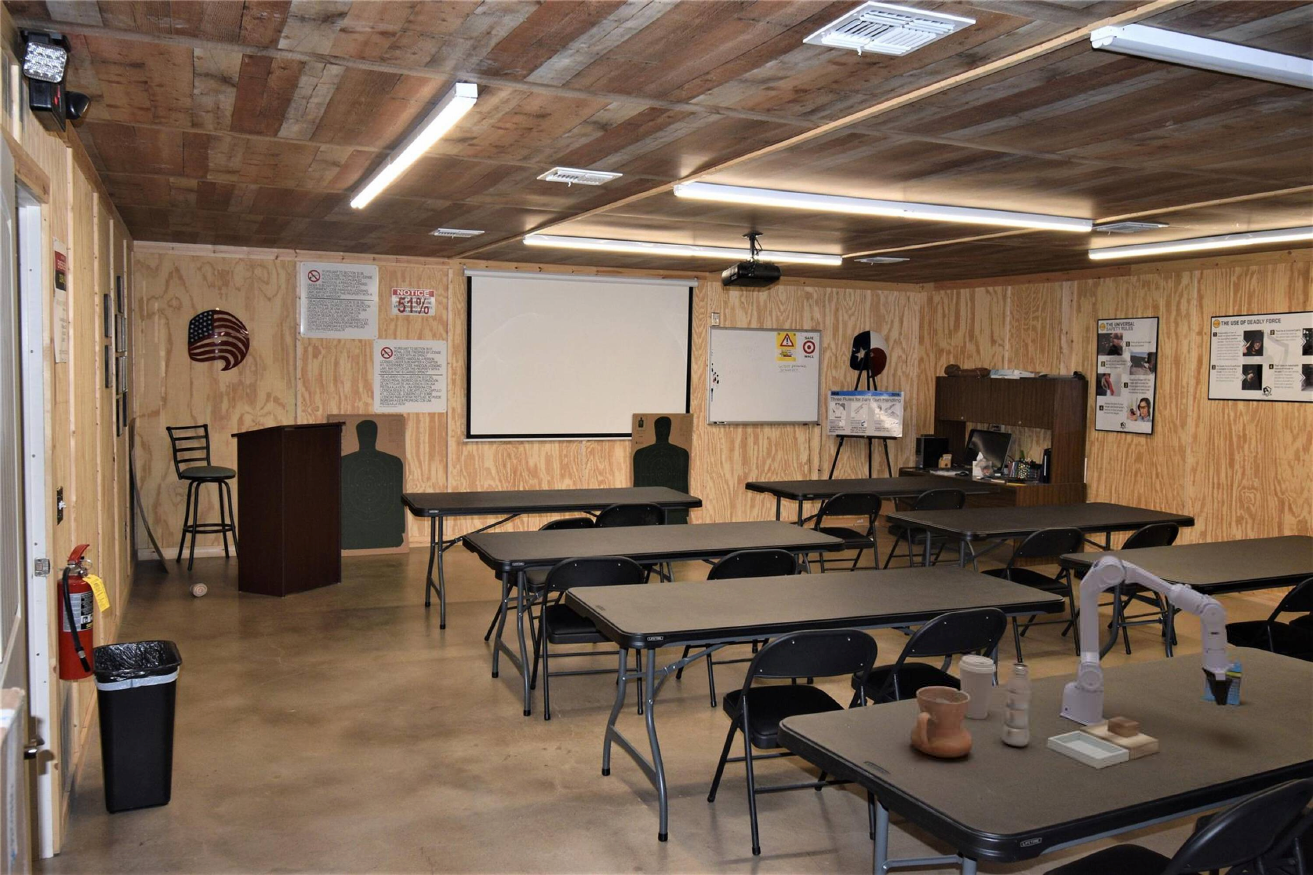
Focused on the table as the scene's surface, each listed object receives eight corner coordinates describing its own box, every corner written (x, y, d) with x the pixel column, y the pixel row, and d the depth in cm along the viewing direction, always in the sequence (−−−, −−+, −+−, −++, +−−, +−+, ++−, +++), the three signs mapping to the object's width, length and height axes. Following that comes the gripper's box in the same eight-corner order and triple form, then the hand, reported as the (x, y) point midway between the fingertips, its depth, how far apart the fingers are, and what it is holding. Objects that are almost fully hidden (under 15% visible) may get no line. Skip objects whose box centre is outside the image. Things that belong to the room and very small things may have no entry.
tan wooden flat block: (1079, 739, 250) (1080, 727, 249) (1106, 732, 255) (1107, 720, 255) (1130, 759, 238) (1131, 747, 237) (1157, 751, 243) (1158, 739, 243)
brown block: (1107, 730, 248) (1108, 719, 248) (1119, 727, 250) (1120, 716, 250) (1125, 737, 244) (1126, 726, 243) (1138, 734, 246) (1138, 722, 246)
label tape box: (1239, 702, 283) (1243, 660, 282) (1239, 706, 280) (1242, 663, 279) (1204, 695, 288) (1208, 654, 287) (1203, 699, 284) (1207, 657, 283)
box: (1047, 747, 243) (1047, 737, 243) (1077, 739, 249) (1078, 730, 249) (1097, 768, 231) (1098, 758, 231) (1128, 760, 237) (1129, 750, 237)
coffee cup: (953, 717, 262) (957, 661, 261) (957, 706, 271) (960, 652, 270) (991, 723, 258) (995, 667, 257) (994, 711, 267) (997, 657, 266)
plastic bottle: (1028, 741, 247) (1033, 663, 245) (1029, 751, 240) (1034, 670, 239) (1000, 737, 249) (1006, 659, 247) (1000, 746, 243) (1006, 667, 241)
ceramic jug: (936, 733, 250) (938, 678, 248) (987, 752, 238) (989, 694, 237) (891, 751, 238) (893, 693, 237) (942, 771, 227) (945, 711, 226)
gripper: (1237, 654, 243) (1242, 709, 243) (1228, 639, 256) (1232, 691, 257) (1204, 654, 246) (1209, 708, 246) (1197, 640, 259) (1202, 691, 259)
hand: (1219, 700), depth 252 cm, fingers open, 7 cm apart
